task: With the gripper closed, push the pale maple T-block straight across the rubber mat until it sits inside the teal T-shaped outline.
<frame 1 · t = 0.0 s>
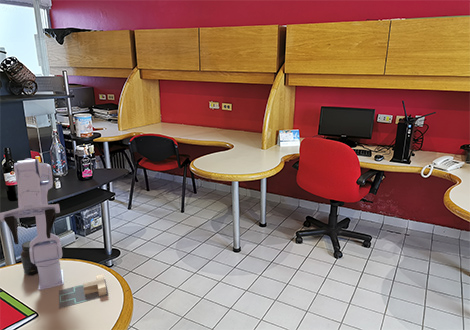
hand: (32, 240, 94), 32 cm above the table, tool tilted 50°, fingers open, 7 cm apart
supplement bottle: (34, 271, 134), on the table
mat: (83, 293, 122), on the table
t block: (94, 289, 124), resting on mat
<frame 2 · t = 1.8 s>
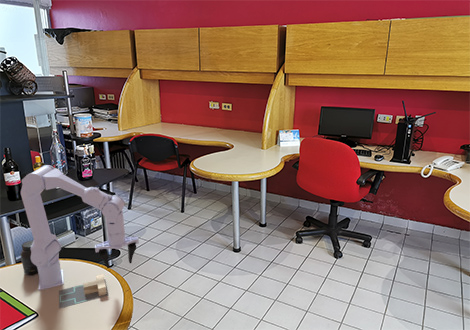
hand: (119, 264, 125), 8 cm above the table, tool pointing down, fingers open, 7 cm apart
nothing on the table moved.
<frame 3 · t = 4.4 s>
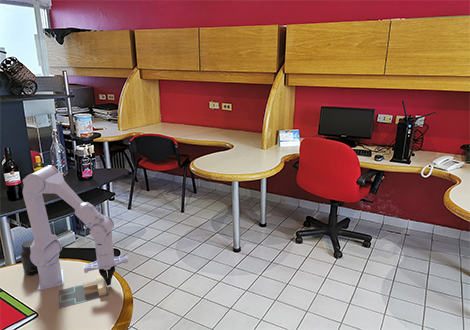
hand: (108, 283, 125), 1 cm above the table, tool pointing down, fingers closed
t block: (94, 289, 124), resting on mat, touching gripper
everything else where it was.
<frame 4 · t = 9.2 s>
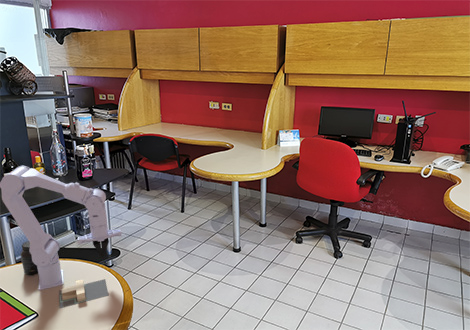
hand: (102, 256, 128), 9 cm above the table, tool pointing down, fingers closed
t block: (74, 295, 121), resting on mat
everything else where it was.
at the end: t block 0.2 cm from the target spot on the mat, point 0.3 cm above the mat's base; t block tilted 0°; the gripper is holding nothing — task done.
